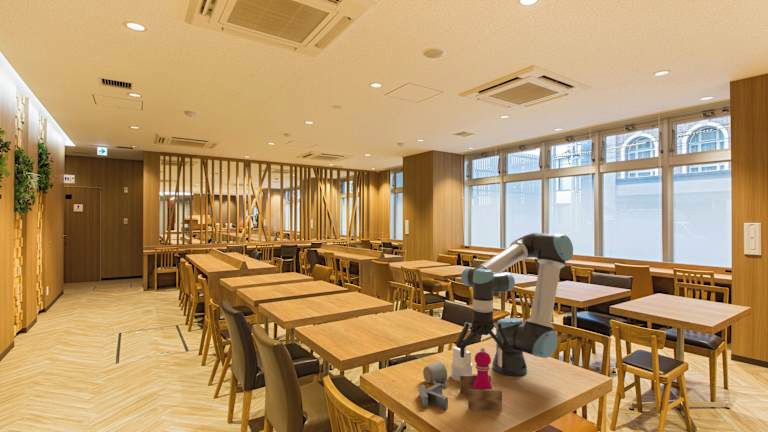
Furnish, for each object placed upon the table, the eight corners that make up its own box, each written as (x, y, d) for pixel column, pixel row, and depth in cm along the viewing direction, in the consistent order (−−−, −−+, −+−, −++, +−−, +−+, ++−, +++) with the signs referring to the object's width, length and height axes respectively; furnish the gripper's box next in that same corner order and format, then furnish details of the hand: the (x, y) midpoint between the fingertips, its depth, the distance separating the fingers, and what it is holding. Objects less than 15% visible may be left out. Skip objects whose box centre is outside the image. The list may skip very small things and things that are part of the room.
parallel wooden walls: (489, 391, 159) (489, 374, 159) (502, 409, 144) (502, 390, 144) (460, 391, 158) (460, 374, 158) (469, 410, 143) (469, 391, 143)
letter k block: (441, 392, 158) (441, 382, 158) (448, 409, 144) (448, 398, 144) (418, 393, 157) (418, 382, 157) (423, 410, 143) (423, 399, 143)
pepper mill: (493, 405, 147) (493, 352, 147) (473, 404, 148) (473, 350, 148) (491, 397, 154) (491, 345, 154) (472, 395, 155) (472, 344, 155)
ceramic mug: (421, 380, 170) (422, 362, 169) (437, 376, 173) (438, 359, 173) (435, 390, 160) (435, 371, 160) (452, 386, 164) (452, 368, 164)
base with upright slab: (447, 375, 175) (447, 348, 175) (462, 371, 179) (462, 345, 179) (460, 383, 167) (460, 354, 167) (476, 378, 171) (476, 351, 171)
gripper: (511, 308, 155) (510, 362, 155) (448, 307, 154) (447, 362, 154) (518, 312, 148) (518, 369, 148) (452, 312, 147) (451, 369, 147)
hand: (482, 365), depth 151 cm, fingers open, 13 cm apart
